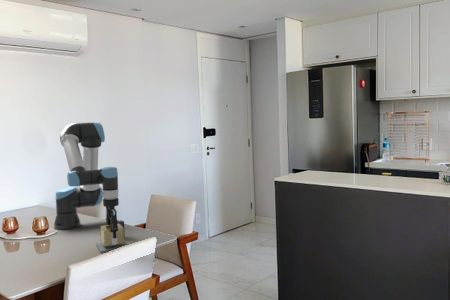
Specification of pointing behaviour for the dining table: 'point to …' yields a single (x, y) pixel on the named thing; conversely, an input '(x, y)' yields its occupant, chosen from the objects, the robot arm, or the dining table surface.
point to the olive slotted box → (107, 235)
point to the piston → (108, 247)
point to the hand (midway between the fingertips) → (112, 241)
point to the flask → (121, 224)
